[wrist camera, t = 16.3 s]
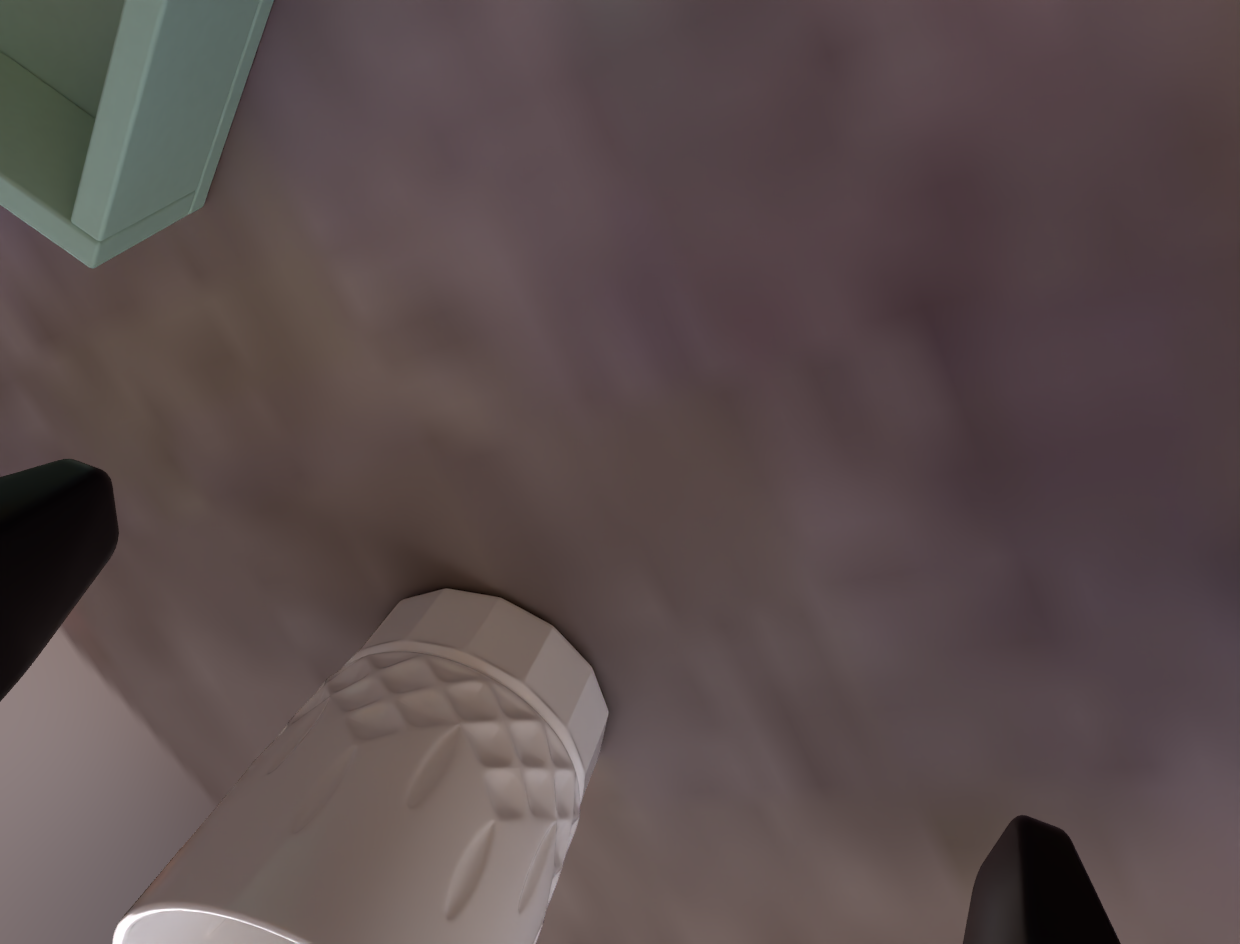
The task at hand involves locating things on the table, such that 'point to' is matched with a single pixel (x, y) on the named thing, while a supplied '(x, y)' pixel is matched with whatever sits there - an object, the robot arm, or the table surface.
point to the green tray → (117, 112)
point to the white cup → (401, 795)
